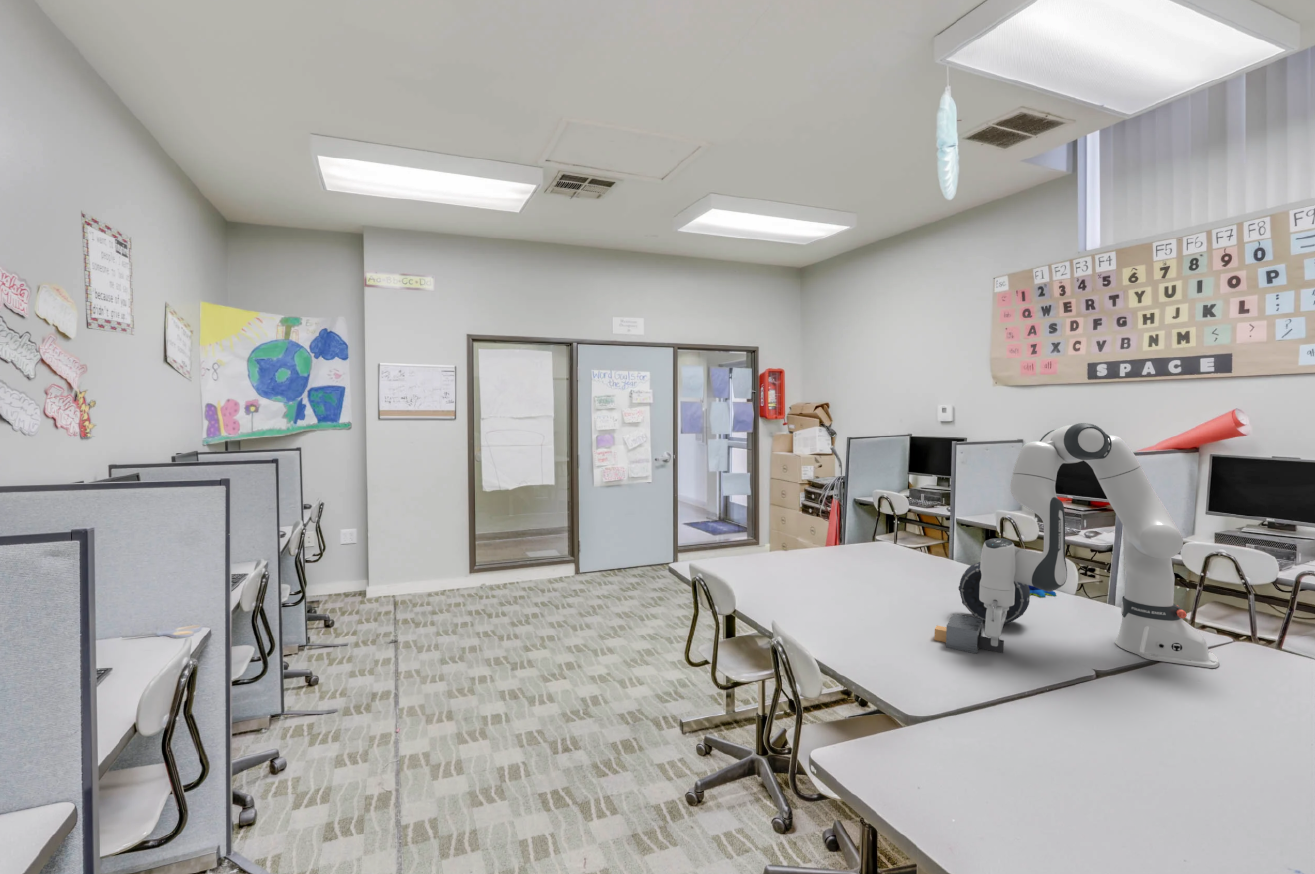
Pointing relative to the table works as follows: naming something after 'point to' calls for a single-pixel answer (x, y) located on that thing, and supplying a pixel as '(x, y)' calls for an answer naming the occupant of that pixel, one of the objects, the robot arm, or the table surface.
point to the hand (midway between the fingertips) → (995, 643)
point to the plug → (982, 643)
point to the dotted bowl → (976, 607)
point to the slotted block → (963, 633)
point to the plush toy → (1040, 592)
